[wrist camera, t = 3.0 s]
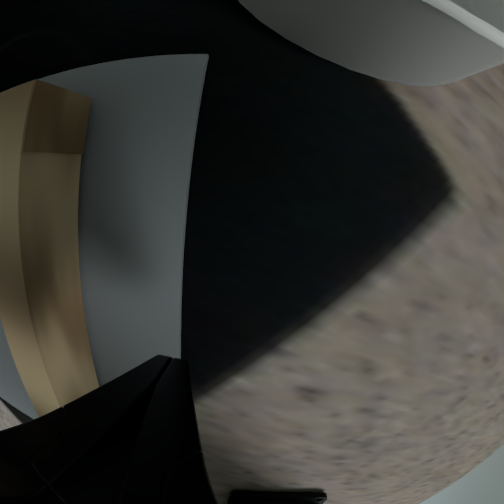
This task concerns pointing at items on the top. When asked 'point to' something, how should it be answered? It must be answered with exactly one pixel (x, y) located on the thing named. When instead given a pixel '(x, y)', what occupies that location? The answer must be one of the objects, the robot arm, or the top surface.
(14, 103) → the wooden block
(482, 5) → the saucepan
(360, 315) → the top surface
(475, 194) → the top surface
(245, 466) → the top surface
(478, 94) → the top surface
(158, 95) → the mat
